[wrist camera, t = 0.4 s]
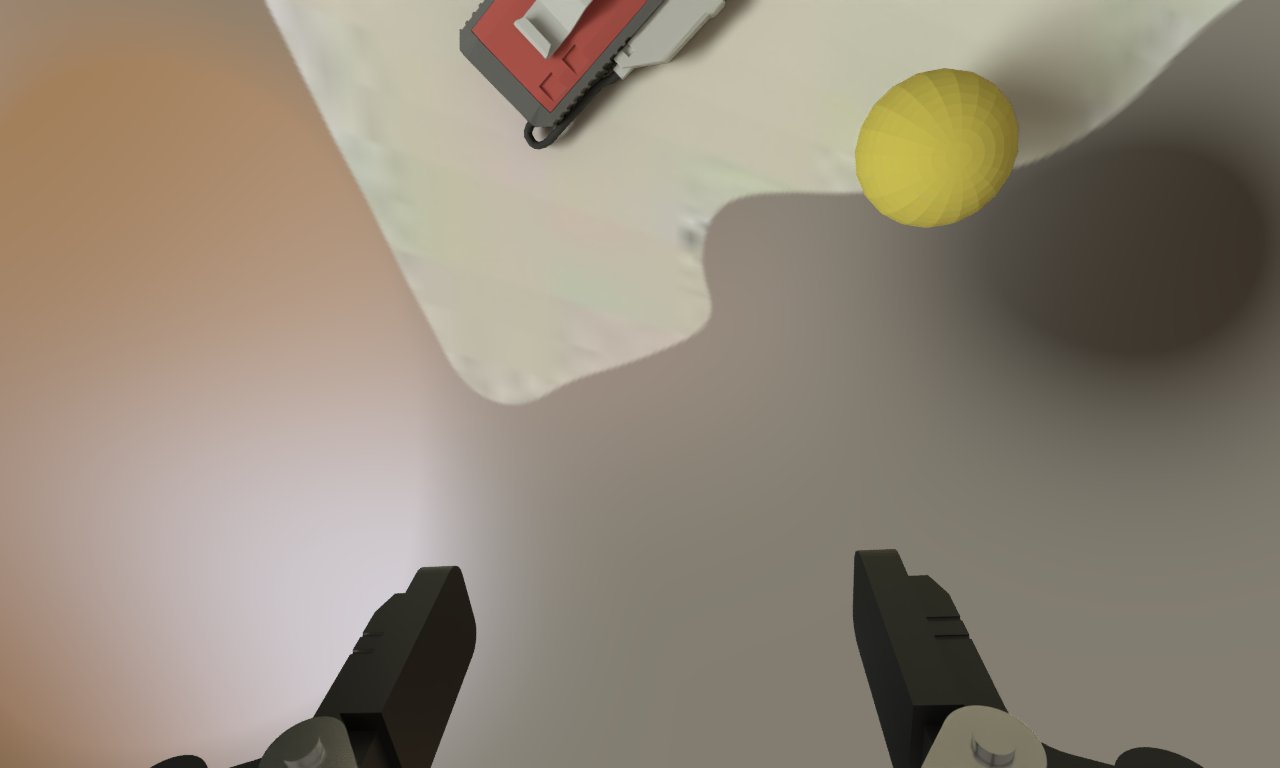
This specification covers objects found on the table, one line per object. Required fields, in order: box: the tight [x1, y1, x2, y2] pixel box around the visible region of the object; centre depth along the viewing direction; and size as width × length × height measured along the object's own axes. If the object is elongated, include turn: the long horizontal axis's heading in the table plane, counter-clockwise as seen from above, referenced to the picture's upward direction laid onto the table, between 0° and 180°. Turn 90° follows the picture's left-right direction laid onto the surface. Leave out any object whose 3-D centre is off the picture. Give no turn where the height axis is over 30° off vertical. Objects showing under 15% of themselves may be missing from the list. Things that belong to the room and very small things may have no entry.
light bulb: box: [855, 68, 1018, 228], centre depth 32 cm, size 7×7×10 cm
